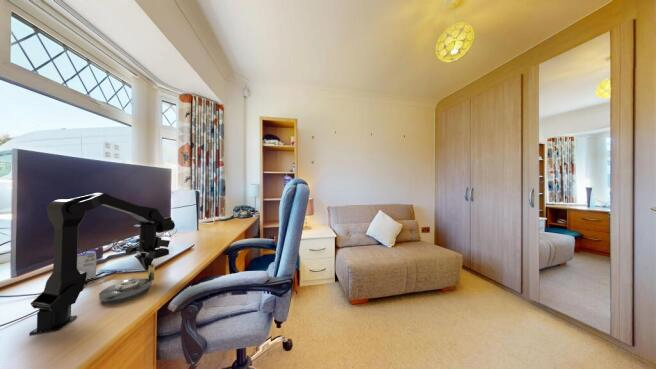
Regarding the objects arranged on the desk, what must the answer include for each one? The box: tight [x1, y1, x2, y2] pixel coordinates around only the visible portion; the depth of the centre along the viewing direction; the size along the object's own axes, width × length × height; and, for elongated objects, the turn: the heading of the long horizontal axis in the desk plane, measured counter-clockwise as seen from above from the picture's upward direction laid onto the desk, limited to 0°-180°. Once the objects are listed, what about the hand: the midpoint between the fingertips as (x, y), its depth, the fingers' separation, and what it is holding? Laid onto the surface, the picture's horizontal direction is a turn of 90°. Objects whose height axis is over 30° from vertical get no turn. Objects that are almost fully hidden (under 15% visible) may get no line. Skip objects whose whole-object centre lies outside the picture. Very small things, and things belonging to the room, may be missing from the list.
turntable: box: [98, 263, 155, 302], centre depth 81 cm, size 17×15×8 cm
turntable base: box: [102, 288, 150, 305], centre depth 80 cm, size 13×13×1 cm
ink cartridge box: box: [77, 250, 97, 279], centre depth 90 cm, size 10×6×14 cm, turn 145°
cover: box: [114, 277, 140, 292], centre depth 80 cm, size 7×7×3 cm
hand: (147, 270), depth 88 cm, fingers closed
